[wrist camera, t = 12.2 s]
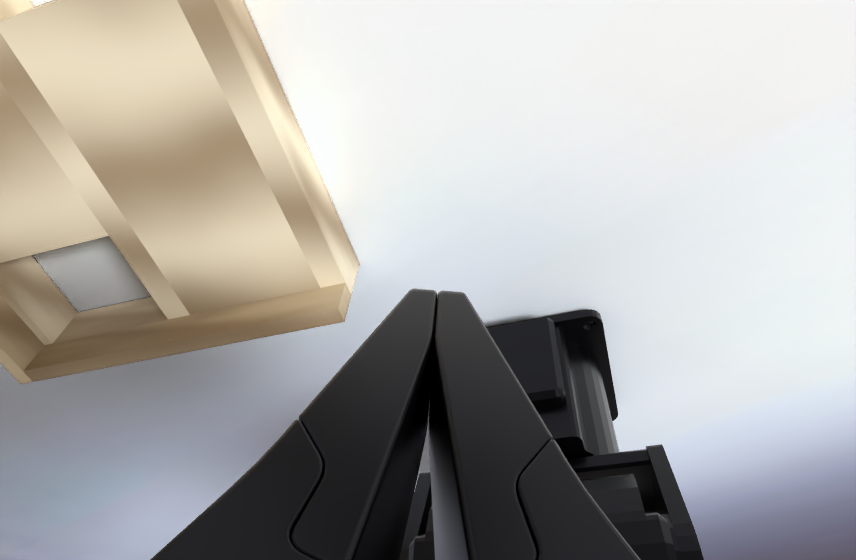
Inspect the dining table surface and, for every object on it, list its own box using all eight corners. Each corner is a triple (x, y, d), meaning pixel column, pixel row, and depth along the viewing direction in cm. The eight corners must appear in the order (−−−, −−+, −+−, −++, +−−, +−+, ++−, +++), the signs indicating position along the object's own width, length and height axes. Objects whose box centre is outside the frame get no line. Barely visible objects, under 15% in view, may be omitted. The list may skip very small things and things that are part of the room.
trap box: (359, 264, 24) (344, 321, 21) (67, 326, 27) (20, 384, 25) (48, -445, 13) (-66, -516, 11) (-380, -209, 16) (-555, -215, 14)
